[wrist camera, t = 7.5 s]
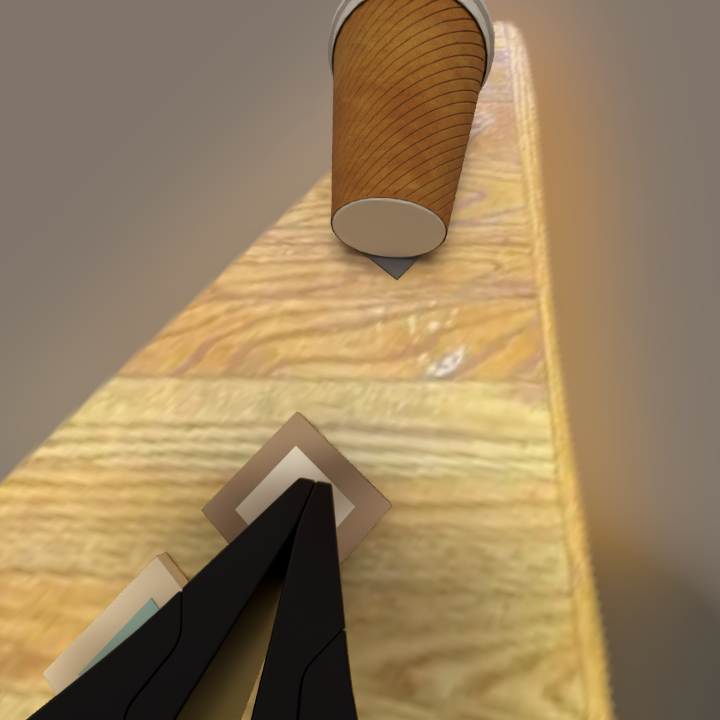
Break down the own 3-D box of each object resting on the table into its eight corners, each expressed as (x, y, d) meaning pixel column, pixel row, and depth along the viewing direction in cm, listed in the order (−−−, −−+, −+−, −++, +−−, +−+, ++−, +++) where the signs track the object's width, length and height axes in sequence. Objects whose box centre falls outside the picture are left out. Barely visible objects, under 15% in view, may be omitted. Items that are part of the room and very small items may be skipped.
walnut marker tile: (391, 503, 19) (391, 505, 18) (296, 612, 18) (292, 620, 17) (300, 413, 21) (296, 411, 20) (208, 508, 19) (200, 510, 19)
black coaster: (438, 238, 23) (438, 236, 23) (396, 280, 22) (397, 278, 22) (392, 204, 24) (392, 202, 24) (350, 243, 23) (350, 241, 23)
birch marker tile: (252, 663, 17) (245, 674, 16) (139, 794, 16) (125, 813, 15) (165, 552, 19) (155, 556, 18) (57, 664, 18) (40, 674, 17)
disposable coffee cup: (497, 259, 21) (510, 80, 23) (443, 149, 13) (470, -114, 15) (359, 275, 26) (379, 128, 28) (261, 203, 18) (296, 3, 20)
